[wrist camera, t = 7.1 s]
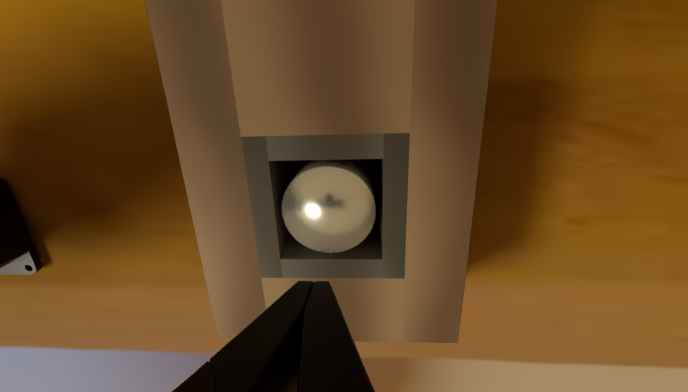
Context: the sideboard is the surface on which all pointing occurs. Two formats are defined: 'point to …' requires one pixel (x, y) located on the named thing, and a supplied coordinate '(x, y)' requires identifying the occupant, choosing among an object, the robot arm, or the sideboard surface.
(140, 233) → the sideboard surface
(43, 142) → the sideboard surface
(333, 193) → the metal peg
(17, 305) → the sideboard surface
